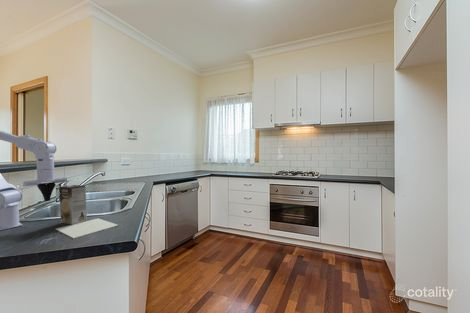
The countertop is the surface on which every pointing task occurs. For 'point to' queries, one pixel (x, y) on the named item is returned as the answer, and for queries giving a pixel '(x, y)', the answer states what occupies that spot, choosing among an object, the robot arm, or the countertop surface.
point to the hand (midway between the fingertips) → (47, 200)
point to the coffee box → (73, 204)
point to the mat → (86, 228)
